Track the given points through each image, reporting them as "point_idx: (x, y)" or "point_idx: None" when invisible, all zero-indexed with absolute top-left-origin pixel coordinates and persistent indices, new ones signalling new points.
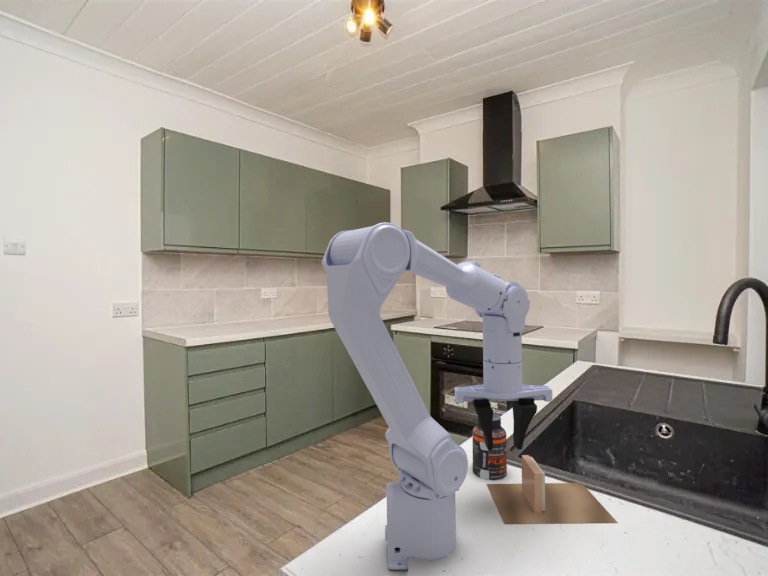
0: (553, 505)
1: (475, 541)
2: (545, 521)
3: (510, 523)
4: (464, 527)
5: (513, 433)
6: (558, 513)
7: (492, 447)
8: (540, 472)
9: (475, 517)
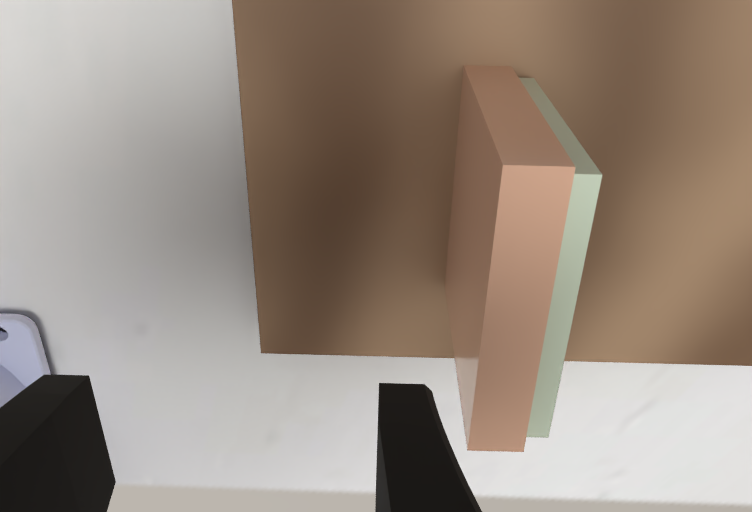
0: None
1: (133, 371)
2: None
3: (291, 353)
4: (84, 290)
5: (384, 453)
6: None
7: (103, 508)
8: (518, 441)
9: (141, 220)
